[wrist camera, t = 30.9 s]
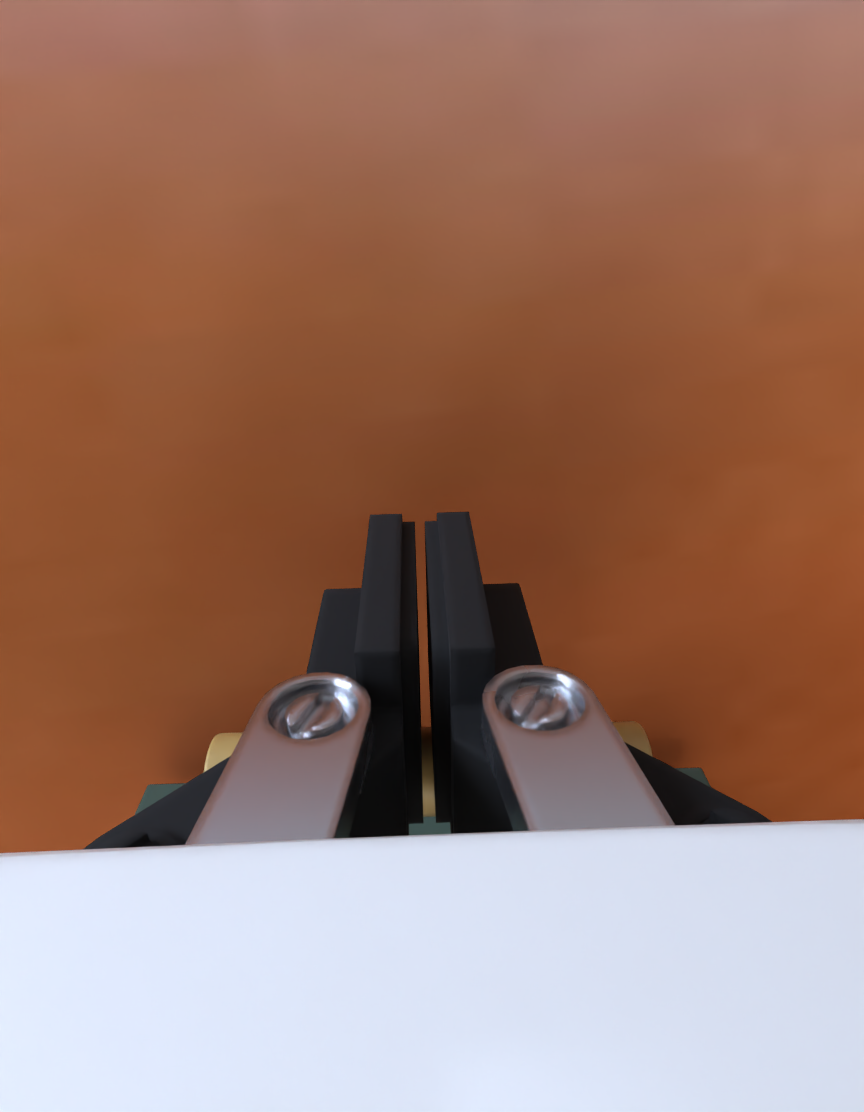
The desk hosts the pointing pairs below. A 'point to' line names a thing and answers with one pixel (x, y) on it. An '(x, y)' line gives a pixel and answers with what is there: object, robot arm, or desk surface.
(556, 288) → the desk surface
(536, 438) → the desk surface
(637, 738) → the drawer
